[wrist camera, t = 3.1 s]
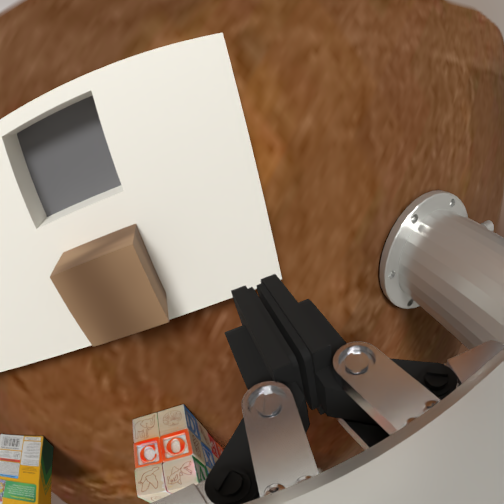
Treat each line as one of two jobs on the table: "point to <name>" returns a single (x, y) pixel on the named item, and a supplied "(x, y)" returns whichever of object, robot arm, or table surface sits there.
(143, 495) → the stack of blocks
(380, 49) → the table surface
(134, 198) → the trap board
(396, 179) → the table surface
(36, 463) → the crayon box
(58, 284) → the walnut block
